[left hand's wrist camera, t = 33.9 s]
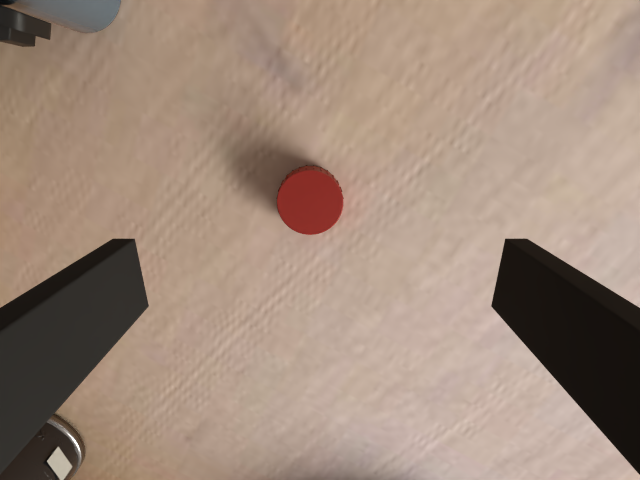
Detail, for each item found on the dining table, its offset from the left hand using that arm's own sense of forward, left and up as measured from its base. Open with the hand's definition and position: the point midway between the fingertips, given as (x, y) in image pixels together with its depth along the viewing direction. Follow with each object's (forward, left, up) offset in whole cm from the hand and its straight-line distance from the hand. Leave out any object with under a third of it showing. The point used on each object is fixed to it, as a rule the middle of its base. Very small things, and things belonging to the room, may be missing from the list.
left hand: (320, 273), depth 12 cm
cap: (0, 0, -11) cm, 11 cm away
